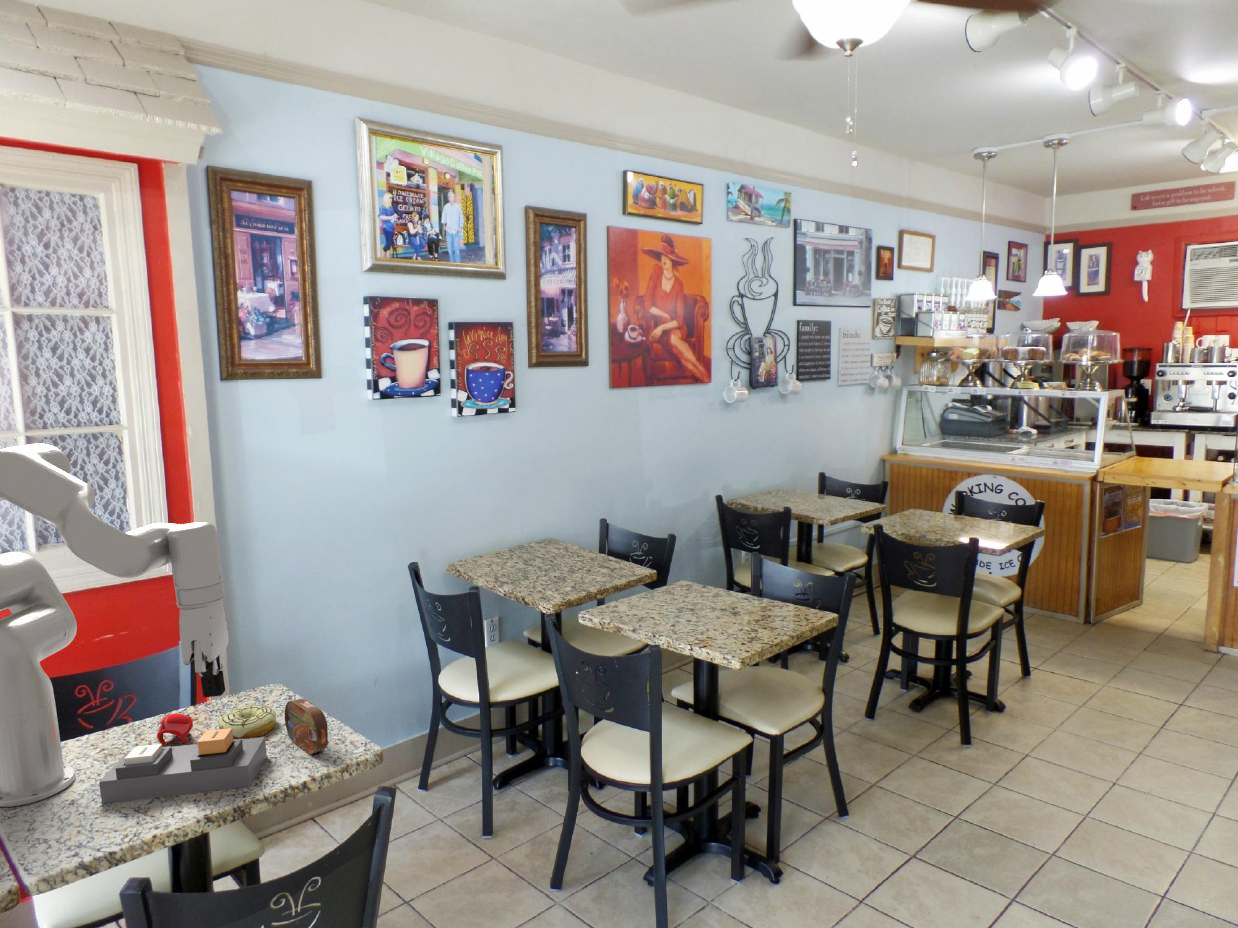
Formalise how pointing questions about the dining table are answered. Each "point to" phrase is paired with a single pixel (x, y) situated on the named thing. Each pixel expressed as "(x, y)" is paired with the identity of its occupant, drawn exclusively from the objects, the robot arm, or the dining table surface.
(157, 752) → the cream button
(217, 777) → the grey button panel
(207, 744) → the orange button
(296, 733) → the tin
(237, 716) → the decorated donut
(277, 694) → the dining table surface
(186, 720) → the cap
